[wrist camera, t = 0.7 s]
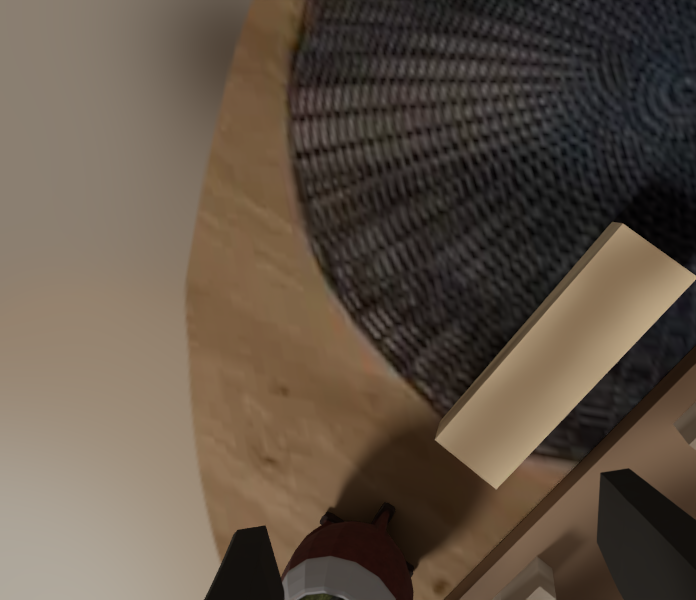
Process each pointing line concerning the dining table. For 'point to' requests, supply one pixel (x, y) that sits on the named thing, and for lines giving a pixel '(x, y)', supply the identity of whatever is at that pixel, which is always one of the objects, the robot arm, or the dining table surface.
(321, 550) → the mate gourd
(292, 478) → the dining table surface
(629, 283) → the slat
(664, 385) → the endcap rail
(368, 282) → the dining table surface
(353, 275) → the dining table surface
